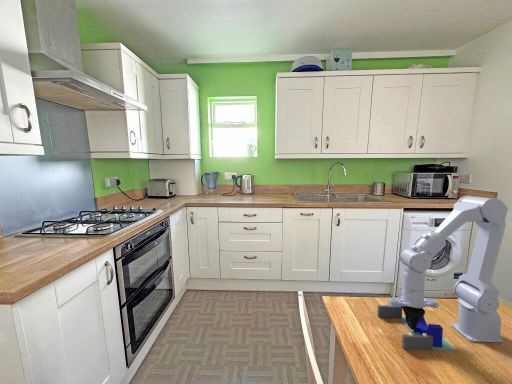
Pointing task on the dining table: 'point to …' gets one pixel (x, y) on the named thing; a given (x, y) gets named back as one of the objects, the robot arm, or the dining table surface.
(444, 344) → the mat
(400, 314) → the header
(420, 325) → the blue bent block
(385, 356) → the dining table surface
